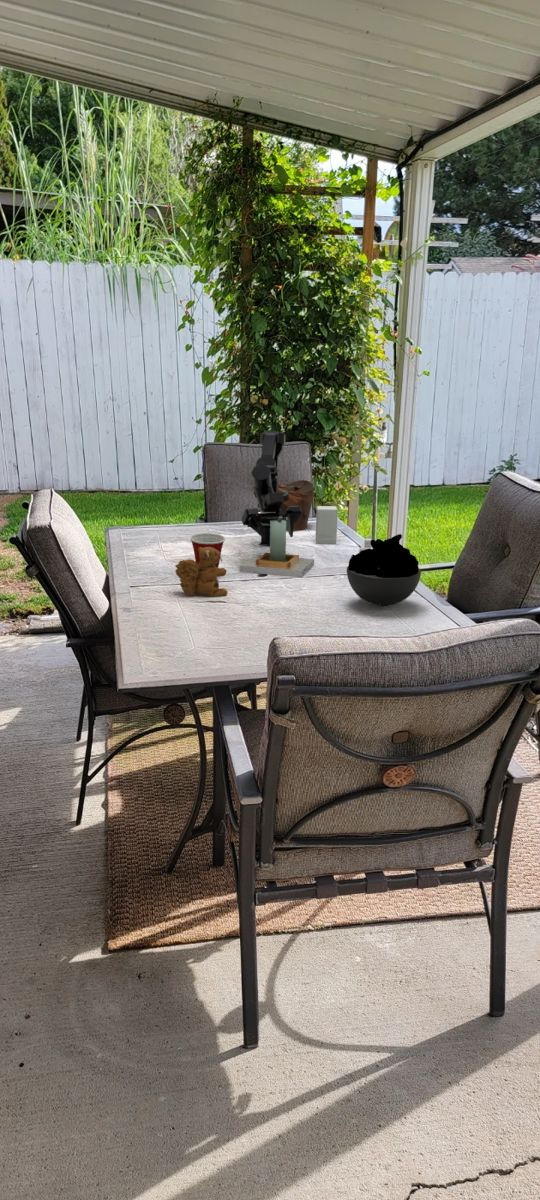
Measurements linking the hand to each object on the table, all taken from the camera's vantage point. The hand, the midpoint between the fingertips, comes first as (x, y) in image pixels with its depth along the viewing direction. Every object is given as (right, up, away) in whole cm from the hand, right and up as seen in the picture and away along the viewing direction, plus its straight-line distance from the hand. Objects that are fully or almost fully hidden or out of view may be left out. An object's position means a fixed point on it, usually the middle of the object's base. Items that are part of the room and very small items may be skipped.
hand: (278, 537), depth 272 cm
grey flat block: (0, -10, +3) cm, 10 cm away
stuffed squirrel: (-22, -18, -26) cm, 38 cm away
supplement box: (+18, +1, +42) cm, 46 cm away
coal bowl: (+28, -21, -34) cm, 49 cm away
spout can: (0, -7, +3) cm, 8 cm away
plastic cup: (-22, -12, -6) cm, 26 cm away
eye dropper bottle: (+28, -11, 0) cm, 30 cm away
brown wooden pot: (+5, +8, +67) cm, 67 cm away
